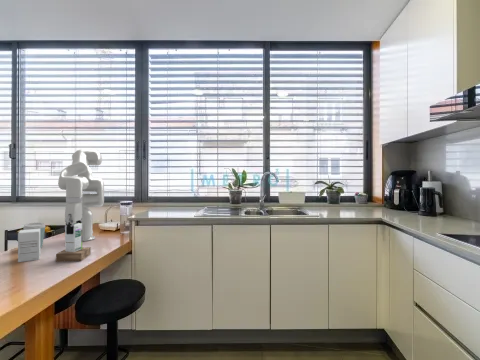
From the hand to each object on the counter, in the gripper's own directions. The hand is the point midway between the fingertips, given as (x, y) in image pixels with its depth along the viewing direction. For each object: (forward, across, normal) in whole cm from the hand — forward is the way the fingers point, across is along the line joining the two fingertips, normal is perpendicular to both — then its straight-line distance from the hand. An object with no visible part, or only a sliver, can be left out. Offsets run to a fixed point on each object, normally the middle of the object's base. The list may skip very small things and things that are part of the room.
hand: (74, 231), depth 144 cm
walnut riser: (+14, +1, 0) cm, 14 cm away
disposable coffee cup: (+15, -20, -31) cm, 40 cm away
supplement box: (+14, 0, -22) cm, 26 cm away
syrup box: (+10, +1, 0) cm, 10 cm away
